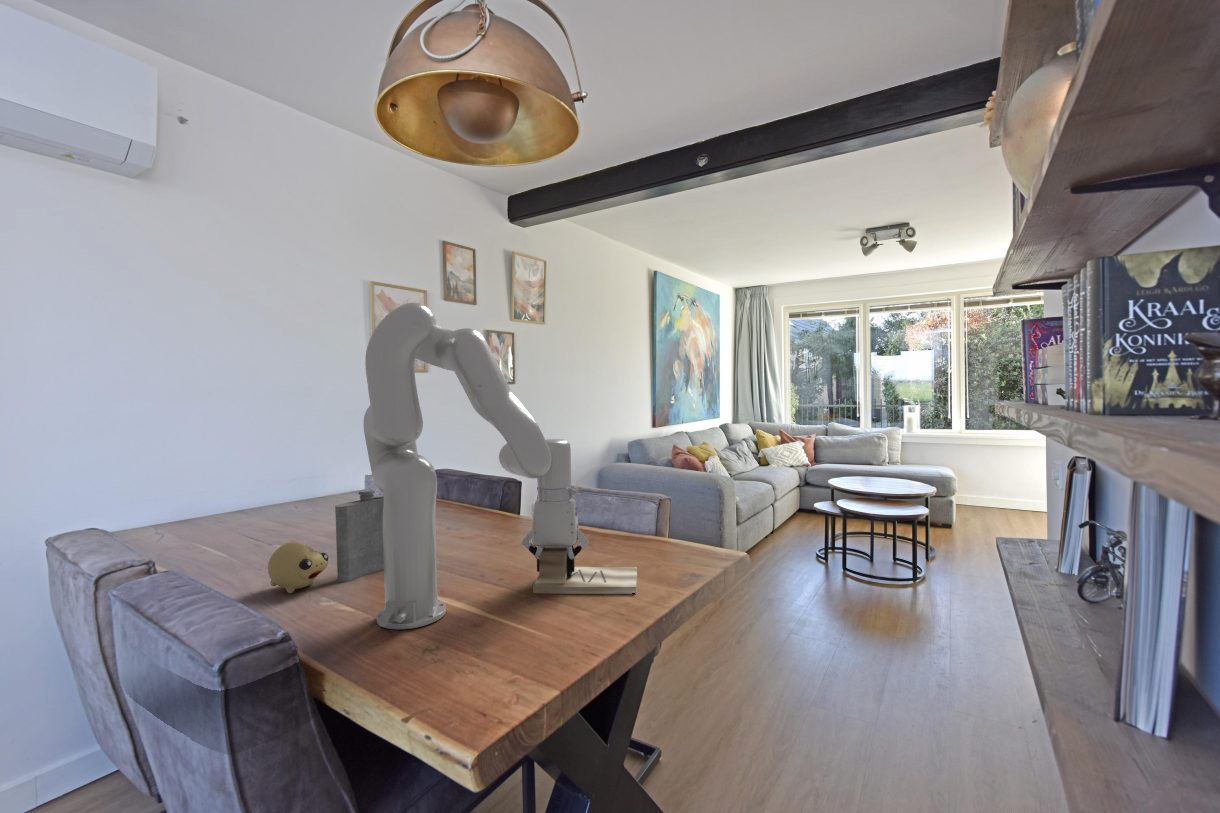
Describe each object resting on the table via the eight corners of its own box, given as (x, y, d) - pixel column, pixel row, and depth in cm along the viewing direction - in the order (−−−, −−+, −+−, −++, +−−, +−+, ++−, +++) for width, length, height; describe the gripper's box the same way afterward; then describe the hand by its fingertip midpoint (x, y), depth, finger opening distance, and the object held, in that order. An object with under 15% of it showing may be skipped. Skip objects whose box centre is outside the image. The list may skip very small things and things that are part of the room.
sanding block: (564, 583, 118) (564, 555, 118) (539, 583, 118) (538, 555, 118) (571, 568, 128) (570, 542, 128) (548, 568, 128) (547, 543, 128)
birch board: (636, 593, 116) (636, 586, 116) (533, 593, 117) (532, 586, 117) (637, 573, 129) (637, 566, 128) (544, 573, 130) (544, 566, 130)
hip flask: (342, 583, 126) (339, 496, 125) (333, 579, 128) (330, 494, 128) (403, 564, 139) (401, 485, 138) (394, 561, 141) (391, 484, 140)
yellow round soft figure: (302, 600, 116) (300, 550, 115) (258, 594, 119) (256, 546, 119) (337, 584, 125) (336, 537, 125) (296, 579, 129) (294, 534, 128)
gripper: (594, 491, 126) (595, 569, 126) (520, 491, 127) (522, 569, 127) (591, 497, 118) (592, 581, 119) (512, 498, 119) (514, 580, 120)
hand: (555, 574), depth 123 cm, fingers closed on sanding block, 5 cm apart
